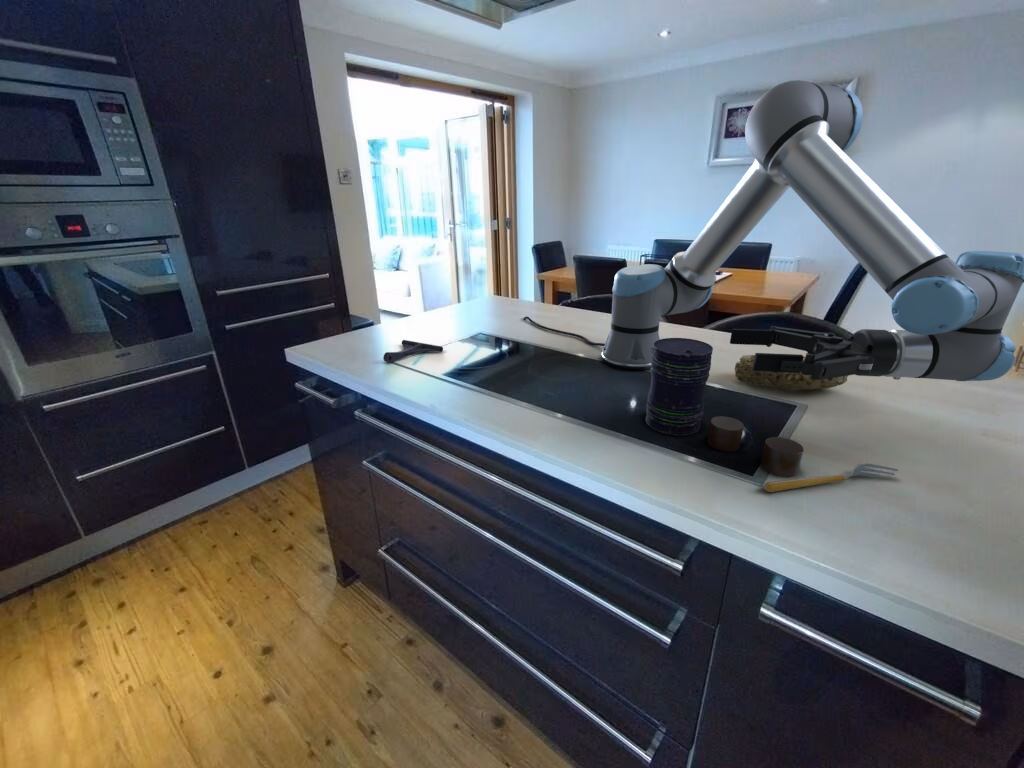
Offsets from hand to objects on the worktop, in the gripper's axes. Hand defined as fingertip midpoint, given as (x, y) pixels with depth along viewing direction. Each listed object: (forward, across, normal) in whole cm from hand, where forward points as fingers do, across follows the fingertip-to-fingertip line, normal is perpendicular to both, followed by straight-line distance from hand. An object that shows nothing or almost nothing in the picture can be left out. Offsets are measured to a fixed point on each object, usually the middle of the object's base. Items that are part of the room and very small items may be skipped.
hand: (741, 348), depth 74 cm
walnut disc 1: (+2, -7, -15) cm, 17 cm away
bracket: (+76, +30, -16) cm, 83 cm away
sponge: (-17, +21, -15) cm, 31 cm away
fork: (-10, -16, -15) cm, 24 cm away
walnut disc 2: (-4, -13, -15) cm, 20 cm away
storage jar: (+10, 0, -15) cm, 18 cm away
